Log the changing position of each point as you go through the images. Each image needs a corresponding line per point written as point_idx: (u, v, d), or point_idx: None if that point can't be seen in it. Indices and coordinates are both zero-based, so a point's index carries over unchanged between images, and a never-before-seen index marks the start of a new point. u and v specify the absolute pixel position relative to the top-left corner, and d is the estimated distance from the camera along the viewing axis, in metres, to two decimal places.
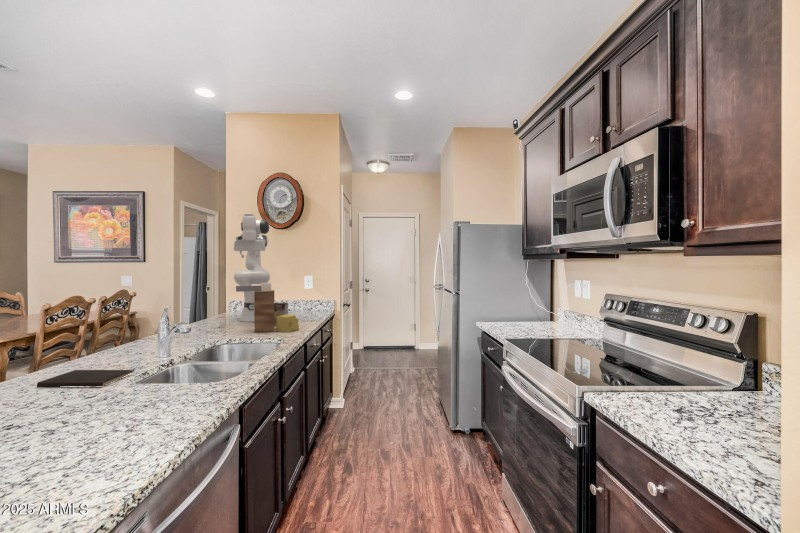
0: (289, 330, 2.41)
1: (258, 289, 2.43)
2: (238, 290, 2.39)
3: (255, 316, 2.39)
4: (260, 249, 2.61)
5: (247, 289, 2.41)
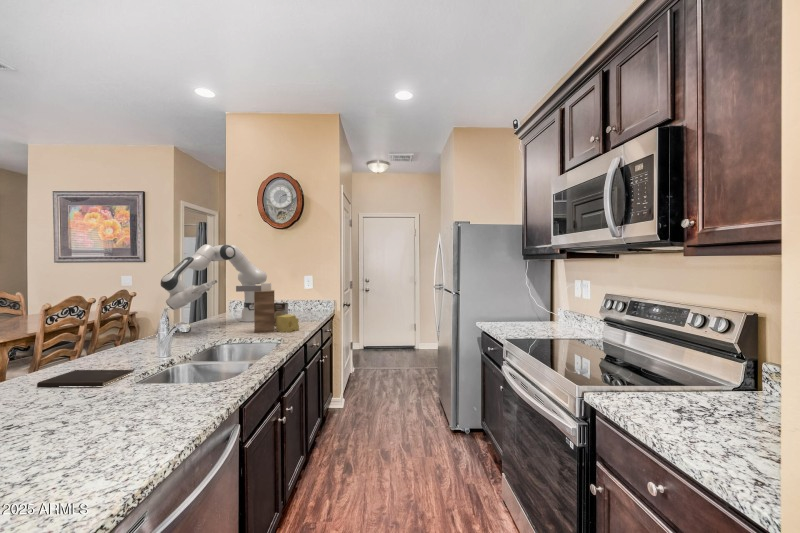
0: (289, 330, 2.41)
1: (258, 289, 2.43)
2: (238, 290, 2.39)
3: (255, 316, 2.39)
4: (207, 288, 2.31)
5: (247, 289, 2.41)
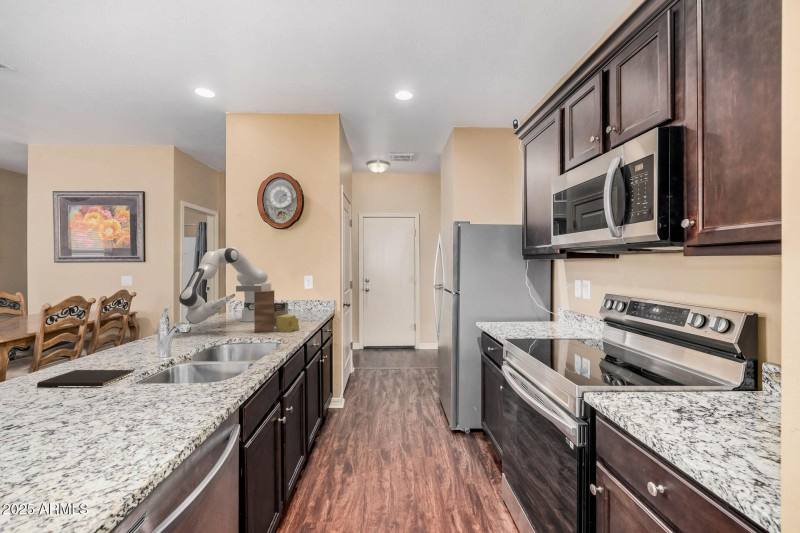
0: (289, 330, 2.41)
1: (258, 289, 2.43)
2: (238, 290, 2.39)
3: (255, 316, 2.39)
4: None
5: (247, 289, 2.41)
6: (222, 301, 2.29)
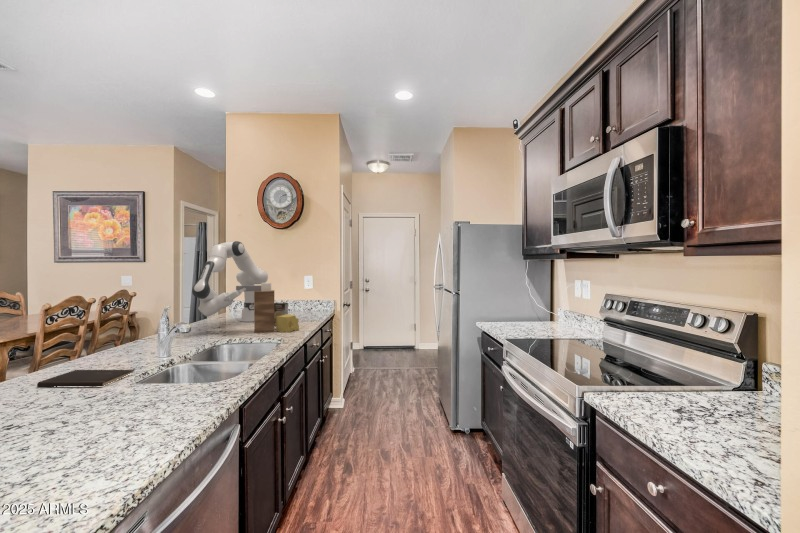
0: (289, 330, 2.41)
1: (258, 289, 2.43)
2: (238, 290, 2.39)
3: (255, 316, 2.39)
4: (238, 295, 2.34)
5: (247, 289, 2.41)
6: (235, 293, 2.31)
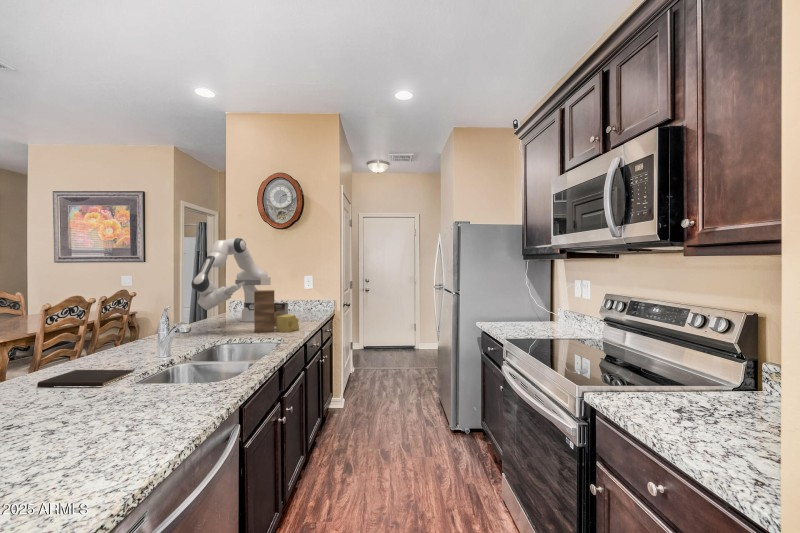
0: (289, 330, 2.41)
1: (257, 283, 2.43)
2: None
3: (255, 316, 2.39)
4: (237, 289, 2.34)
5: (246, 283, 2.41)
6: (234, 287, 2.31)
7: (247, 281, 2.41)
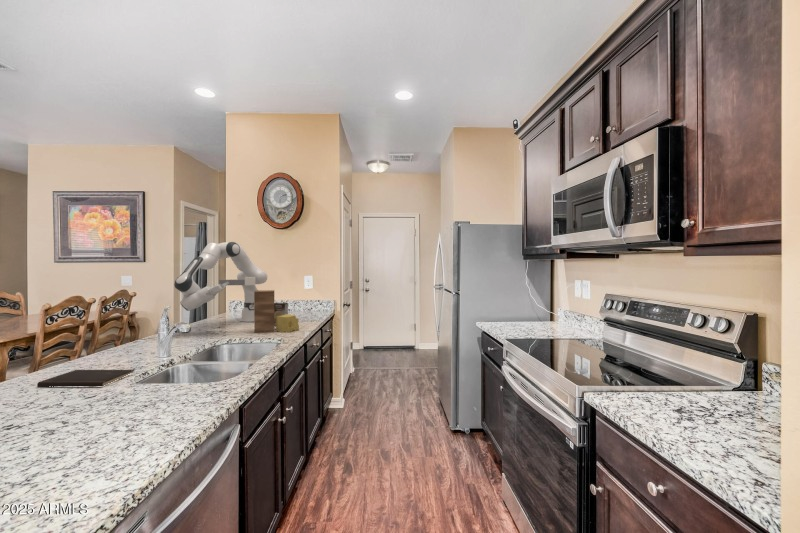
0: (289, 330, 2.41)
1: (242, 283, 2.40)
2: None
3: (255, 316, 2.39)
4: (221, 289, 2.31)
5: (230, 283, 2.38)
6: (217, 287, 2.28)
7: (231, 281, 2.38)
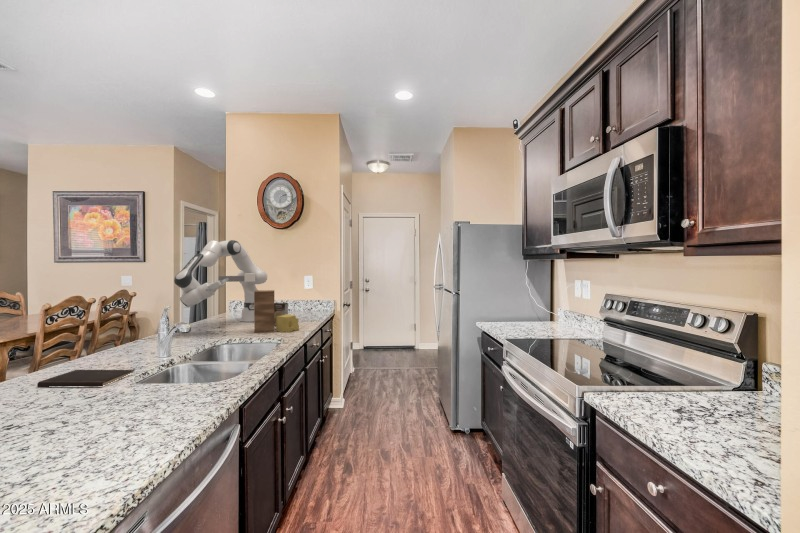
0: (289, 330, 2.41)
1: (241, 279, 2.40)
2: None
3: (255, 316, 2.39)
4: (220, 285, 2.31)
5: (230, 279, 2.38)
6: (217, 283, 2.28)
7: (231, 277, 2.38)
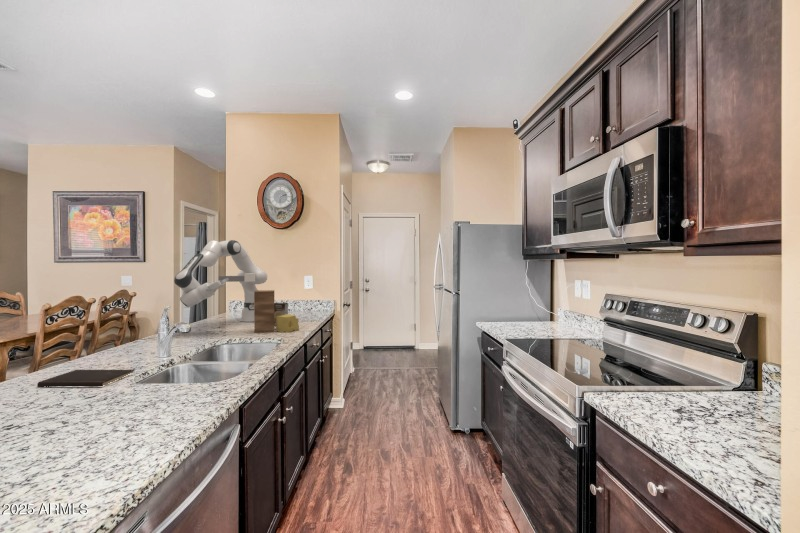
0: (289, 330, 2.41)
1: (241, 279, 2.40)
2: None
3: (255, 316, 2.39)
4: (220, 285, 2.31)
5: (230, 279, 2.38)
6: (217, 283, 2.28)
7: (231, 277, 2.38)
